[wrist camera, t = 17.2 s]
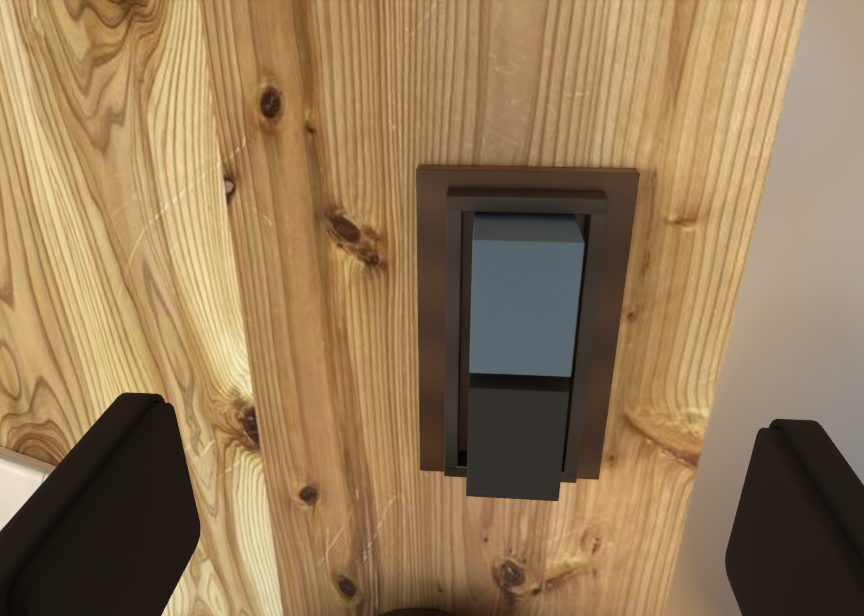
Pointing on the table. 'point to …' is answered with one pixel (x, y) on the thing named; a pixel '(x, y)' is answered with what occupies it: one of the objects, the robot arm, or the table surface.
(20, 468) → the hard drive
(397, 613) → the planter
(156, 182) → the table surface
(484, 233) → the blue-grey rectangular block
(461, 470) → the backing board
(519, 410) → the pad
